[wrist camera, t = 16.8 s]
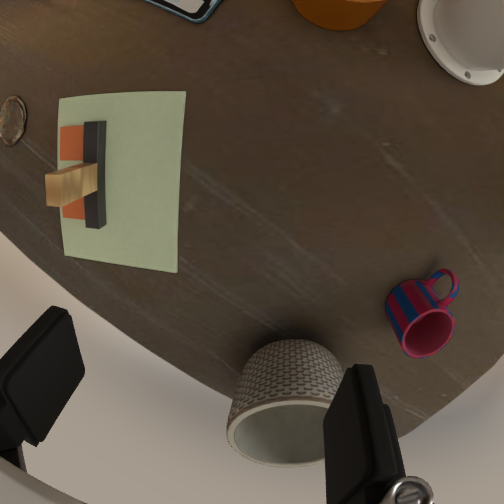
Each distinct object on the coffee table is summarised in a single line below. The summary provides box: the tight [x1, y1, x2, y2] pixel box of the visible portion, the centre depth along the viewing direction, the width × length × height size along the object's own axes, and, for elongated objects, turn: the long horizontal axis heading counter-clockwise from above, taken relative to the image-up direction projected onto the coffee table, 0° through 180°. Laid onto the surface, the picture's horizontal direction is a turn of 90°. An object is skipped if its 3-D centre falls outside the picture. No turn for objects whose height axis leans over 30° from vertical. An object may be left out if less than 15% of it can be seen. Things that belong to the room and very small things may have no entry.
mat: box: [58, 91, 186, 273], centre depth 32 cm, size 20×16×1 cm
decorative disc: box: [0, 96, 26, 147], centre depth 29 cm, size 6×6×1 cm
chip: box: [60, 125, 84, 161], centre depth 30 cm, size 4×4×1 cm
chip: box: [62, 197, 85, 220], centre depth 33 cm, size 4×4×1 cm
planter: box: [227, 339, 344, 468], centre depth 34 cm, size 14×14×13 cm
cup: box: [385, 268, 459, 358], centre depth 32 cm, size 7×10×7 cm
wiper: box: [45, 121, 107, 229], centre depth 28 cm, size 12×2×8 cm, turn 174°
